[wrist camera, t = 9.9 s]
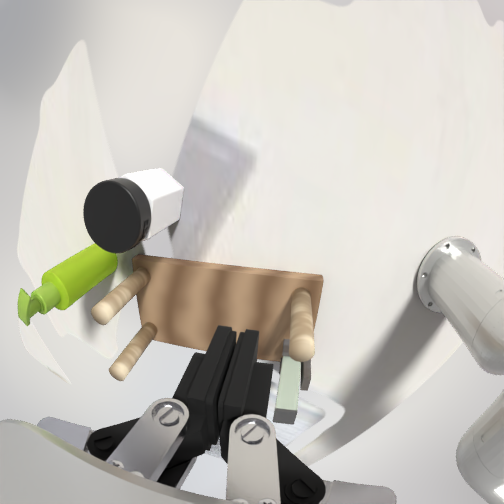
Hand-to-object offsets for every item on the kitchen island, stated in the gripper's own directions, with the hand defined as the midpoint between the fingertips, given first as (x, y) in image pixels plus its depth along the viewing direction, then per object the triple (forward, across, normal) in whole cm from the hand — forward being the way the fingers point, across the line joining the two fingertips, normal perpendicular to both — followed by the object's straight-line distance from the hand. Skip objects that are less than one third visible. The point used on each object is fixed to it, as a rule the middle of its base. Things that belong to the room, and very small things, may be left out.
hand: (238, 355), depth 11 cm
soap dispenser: (+27, +28, +9) cm, 40 cm away
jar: (+27, +17, -1) cm, 32 cm away
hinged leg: (+18, -3, +20) cm, 28 cm away
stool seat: (+27, +7, +16) cm, 32 cm away
